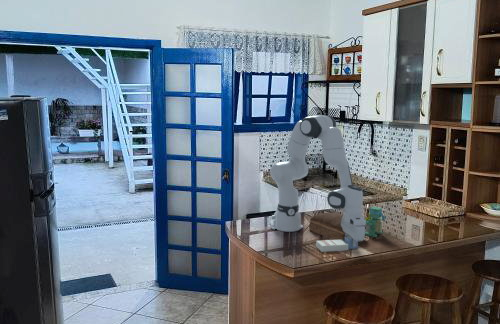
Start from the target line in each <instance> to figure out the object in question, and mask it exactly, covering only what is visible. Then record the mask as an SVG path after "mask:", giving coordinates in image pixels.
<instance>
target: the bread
mask: <svg viewBox="0 0 500 324" xmlns="http://www.w3.org/2000/svg"><path fill="white" fill-rule="evenodd" d="M343 215H344V214H340V213H339V212H324V213H318V214H315V215H313V216H312V217H310V219H309V220H310V221H309V222H310V223H309V225H308V230H309V231H310V232H313V233H316V234H318V235H321V236H323V237H326V238H328V239H329V240H339V239H342V240H343V241H344V240H345V236H346V235H345V232H344V231H343V229H342V227H341V220H342V217H343ZM365 236H366V235H365ZM365 236H364V239H365V238H366V237H365Z"/></svg>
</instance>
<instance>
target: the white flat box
mask: <svg viewBox="0 0 500 324" xmlns="http://www.w3.org/2000/svg"><path fill="white" fill-rule="evenodd" d="M315 247H316V248H317V250H319V251H320V252H321V253H323V252H325V253H326V252H327V253H328V252H340V251H341V252H343V251H349V249H348V244H347V243H346V242H345V241H343V240H342V239H339V240H333V239H325V240H324V239H323V240H322V239H321V240H315Z"/></svg>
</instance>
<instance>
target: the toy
mask: <svg viewBox="0 0 500 324" xmlns="http://www.w3.org/2000/svg"><path fill="white" fill-rule="evenodd" d="M382 211H383V208H382V207H377V206H371V207H369V213H367V217H365V219H364V220H365V221H366V225H365V236H366V237H372V238H377V236H378V234H379V235H381V234H382V233H383V222H385V221H386V216H385V215H384V212H382Z"/></svg>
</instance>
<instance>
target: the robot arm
mask: <svg viewBox="0 0 500 324" xmlns="http://www.w3.org/2000/svg"><path fill="white" fill-rule="evenodd" d="M312 139H320V141H321V144H322V145H321V147H322V157H323V159H324V162H325V163H326V164H327V165H329V166H330V167H333V168H334V169H335V170H336V171H337V173H338V178H339V184H340V187H339V189H334V190H332V191H330V192H329V193H328V194H327V197H326V201H327V204H328V205H329V206H330V208H332V209H339V210H340V209H342V210H343V214H342V215H343V217H342V220H341V227H342V229H343V231H344V232H345V235H346V236H351V237H352V238H353V242H352V246H353V247H355V246H356V243H357V241H358V242H363V241H364V240H365V238H364V236H366V235H365V232H366V221H365V220H366V219H365V218H364V216H363V210H362V208H363V202H364V201H363V200H364V194H363V190H362V188H361V187H360V186H358V185H355V184H353V179H352V174H351V169H350V164H349V161H348V159H347V157H346V152H345V144H344V137H343V134H342V131H341V129H340V128H339V127H337V121H336V120H335V118H334V117H333V116H330V115H326V114H324V115H323V114H316V115H312V116H310V115H309V116H306V117H304V118H303V119H302V120H299V121H297V123H296V124H295V125H294V128H293V130H292V132H291V134H290V137H289V140H288V143H287V146H286V152H287V155H289V158H288V160H287V161H280V162H277V163H274V164H272V166H270V169H269V173H270V177H271V179H272V180H273V181H274V182H275V183H276V185H277V188H278V204H277V206H276V207H277V210H276V211H275V212H274V213H273V214H272V215H271V220H269V224H271V225H270V227H271V229H272V230H275V229H277V231H280V232H288V233H289V232H292V233H293V232H297V231H299V230H301V229H303V228H304V225H303V224H302V214H301V213H300V212H299V211H300V209H299V208H300V206H299V190H298V189H297V188H296V187H295V186H294V181H295V180H302V178H303V179H304V178H305V177H307V175H308V174H309V165H308V164H307V163H306V162H307V161H306V156H307V152H308V150H309V147H310V143H311V140H312Z"/></svg>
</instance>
